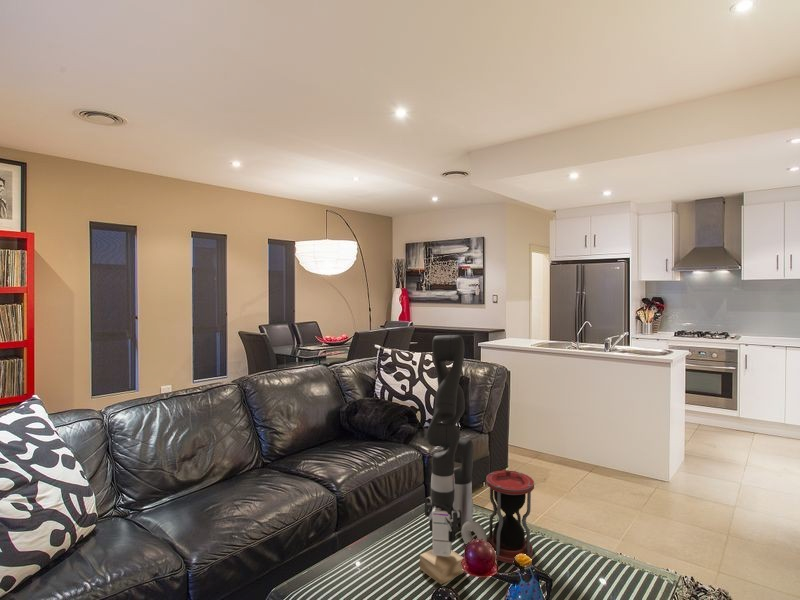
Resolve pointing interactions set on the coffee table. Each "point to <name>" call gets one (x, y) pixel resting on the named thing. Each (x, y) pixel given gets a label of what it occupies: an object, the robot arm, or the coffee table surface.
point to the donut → (475, 528)
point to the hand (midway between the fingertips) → (442, 535)
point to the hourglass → (509, 514)
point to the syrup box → (440, 533)
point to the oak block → (441, 566)
